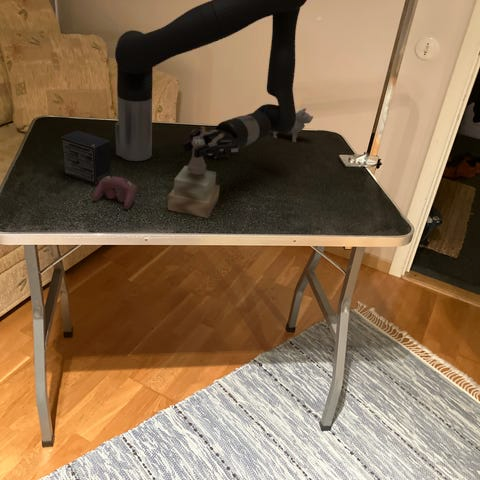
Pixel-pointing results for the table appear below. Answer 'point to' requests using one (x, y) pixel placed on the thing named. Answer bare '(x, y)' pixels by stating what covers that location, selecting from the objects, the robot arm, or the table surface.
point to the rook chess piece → (197, 159)
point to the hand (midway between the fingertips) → (189, 150)
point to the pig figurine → (298, 123)
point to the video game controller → (109, 187)
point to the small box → (86, 157)
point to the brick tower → (194, 193)
